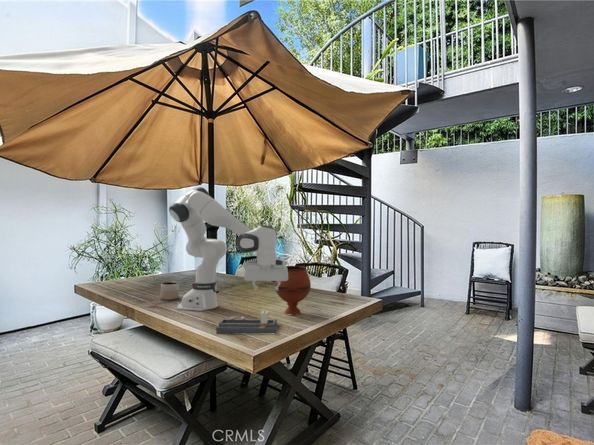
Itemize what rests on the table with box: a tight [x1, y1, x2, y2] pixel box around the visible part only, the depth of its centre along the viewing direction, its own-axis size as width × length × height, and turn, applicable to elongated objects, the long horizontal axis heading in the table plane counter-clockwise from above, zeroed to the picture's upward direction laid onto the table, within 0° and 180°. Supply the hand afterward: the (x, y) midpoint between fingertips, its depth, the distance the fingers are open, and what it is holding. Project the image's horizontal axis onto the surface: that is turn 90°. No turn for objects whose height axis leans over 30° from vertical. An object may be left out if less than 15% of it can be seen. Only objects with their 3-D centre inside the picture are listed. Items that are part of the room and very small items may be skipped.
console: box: [215, 316, 278, 334], centre depth 154 cm, size 26×13×4 cm, turn 90°
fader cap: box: [260, 310, 269, 324], centre depth 154 cm, size 3×4×5 cm
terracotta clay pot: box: [274, 265, 311, 316], centre depth 181 cm, size 19×19×25 cm
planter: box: [160, 281, 180, 301], centre depth 213 cm, size 11×11×10 cm
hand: (266, 290), depth 155 cm, fingers open, 8 cm apart
